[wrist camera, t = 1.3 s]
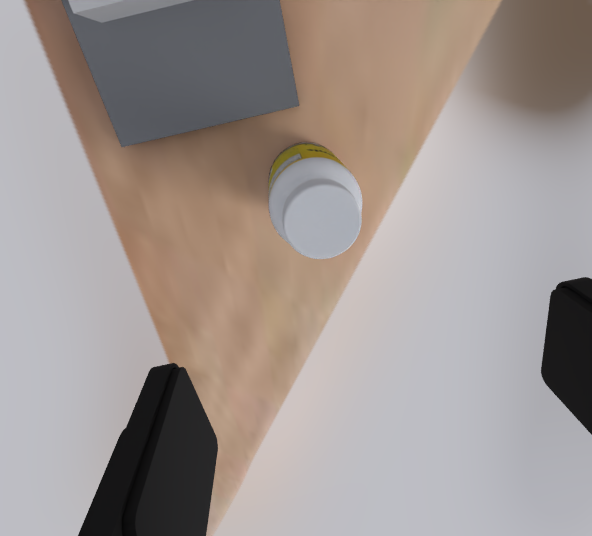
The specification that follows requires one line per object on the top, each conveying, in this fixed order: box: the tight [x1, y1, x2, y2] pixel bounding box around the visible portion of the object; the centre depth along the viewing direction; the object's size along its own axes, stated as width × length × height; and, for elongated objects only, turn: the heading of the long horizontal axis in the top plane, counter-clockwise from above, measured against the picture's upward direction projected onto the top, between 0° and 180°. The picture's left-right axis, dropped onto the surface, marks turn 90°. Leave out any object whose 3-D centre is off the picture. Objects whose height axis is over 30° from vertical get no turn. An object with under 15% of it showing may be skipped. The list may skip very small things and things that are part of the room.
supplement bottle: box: [268, 143, 362, 259], centre depth 23 cm, size 5×5×10 cm
